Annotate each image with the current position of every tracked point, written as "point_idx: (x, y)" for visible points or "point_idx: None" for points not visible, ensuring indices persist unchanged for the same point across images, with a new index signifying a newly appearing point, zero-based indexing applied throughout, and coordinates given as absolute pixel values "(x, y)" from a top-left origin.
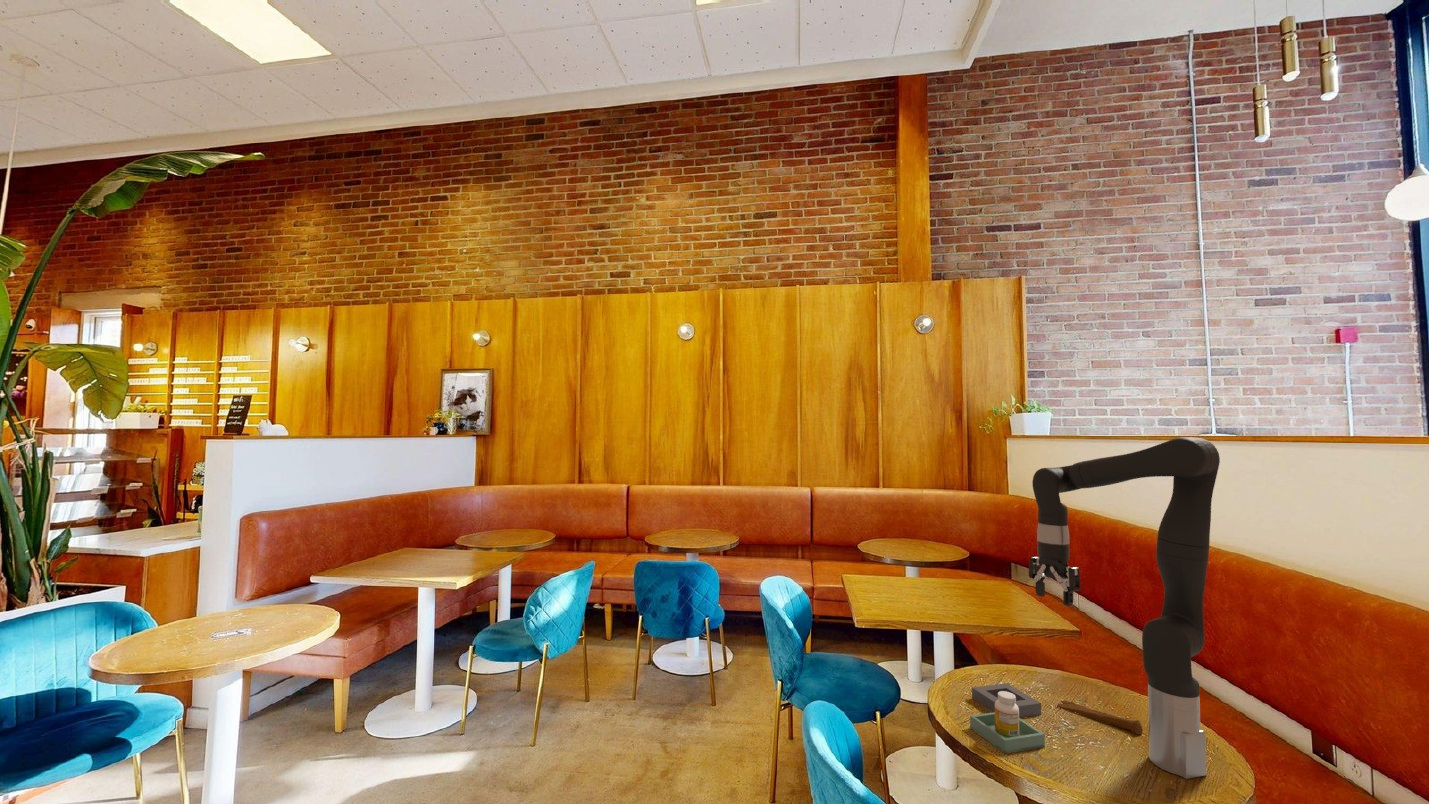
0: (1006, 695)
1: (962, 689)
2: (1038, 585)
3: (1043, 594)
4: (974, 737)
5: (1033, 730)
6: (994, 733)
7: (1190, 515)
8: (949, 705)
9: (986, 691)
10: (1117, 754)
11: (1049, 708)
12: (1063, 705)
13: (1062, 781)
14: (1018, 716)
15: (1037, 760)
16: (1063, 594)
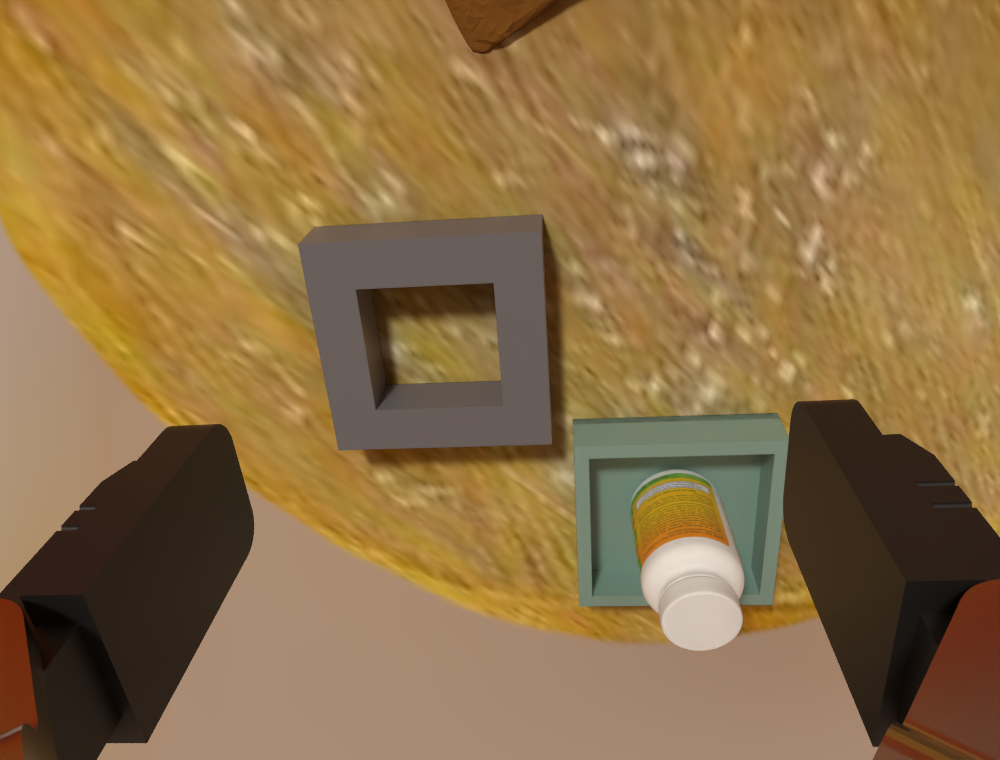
0: (707, 627)
1: (260, 407)
2: (168, 695)
3: (219, 459)
4: None
5: (741, 451)
6: None
7: None
8: (402, 542)
9: (384, 412)
10: (944, 143)
11: (491, 113)
12: (489, 10)
13: None
14: (735, 546)
15: None
16: (847, 674)
